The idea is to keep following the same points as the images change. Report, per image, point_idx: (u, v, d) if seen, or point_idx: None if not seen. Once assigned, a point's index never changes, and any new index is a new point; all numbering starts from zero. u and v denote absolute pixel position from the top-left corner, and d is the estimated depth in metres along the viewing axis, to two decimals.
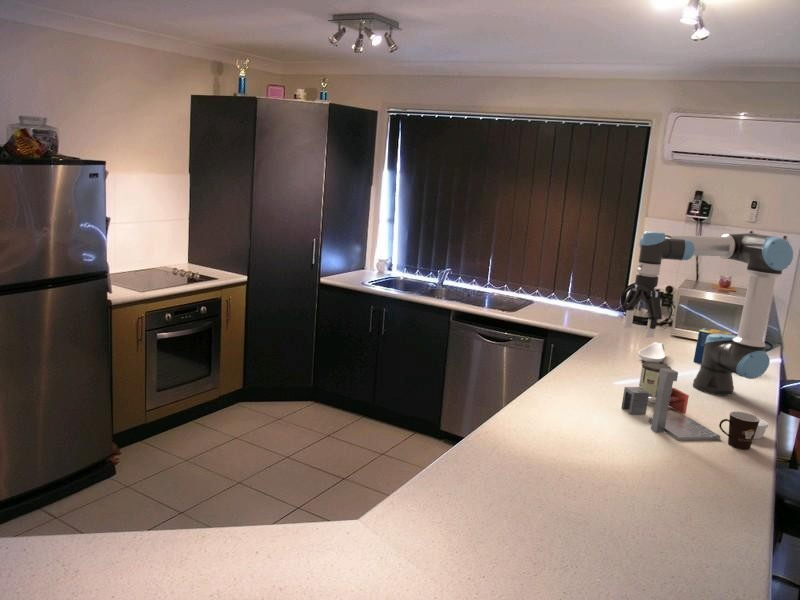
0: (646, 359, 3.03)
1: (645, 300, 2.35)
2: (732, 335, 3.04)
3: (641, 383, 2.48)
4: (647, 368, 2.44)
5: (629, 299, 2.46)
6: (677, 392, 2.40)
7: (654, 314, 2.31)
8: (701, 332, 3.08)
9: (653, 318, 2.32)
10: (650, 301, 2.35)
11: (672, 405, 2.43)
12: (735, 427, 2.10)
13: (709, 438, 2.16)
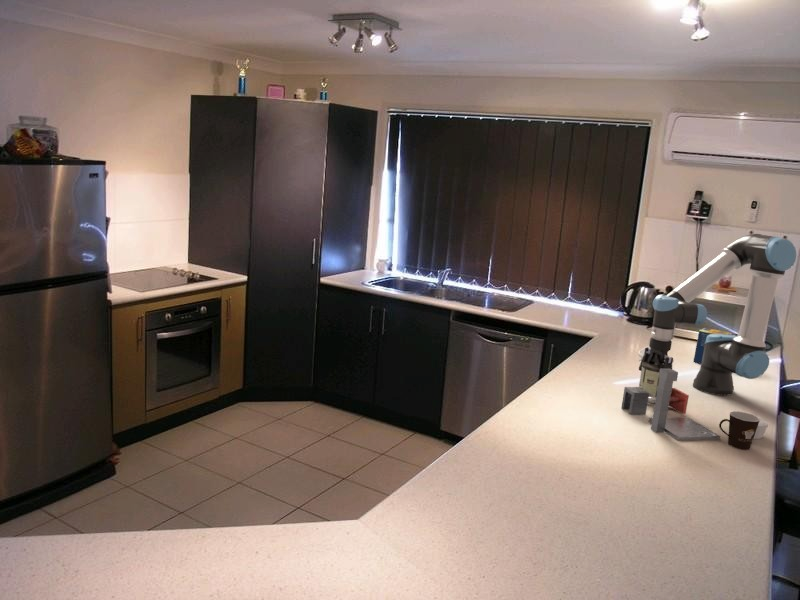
0: None
1: (658, 364, 2.43)
2: (732, 335, 3.04)
3: (641, 383, 2.48)
4: (647, 368, 2.44)
5: None
6: (677, 392, 2.40)
7: None
8: (701, 332, 3.08)
9: None
10: (663, 365, 2.43)
11: (672, 405, 2.43)
12: (735, 427, 2.10)
13: (709, 438, 2.16)
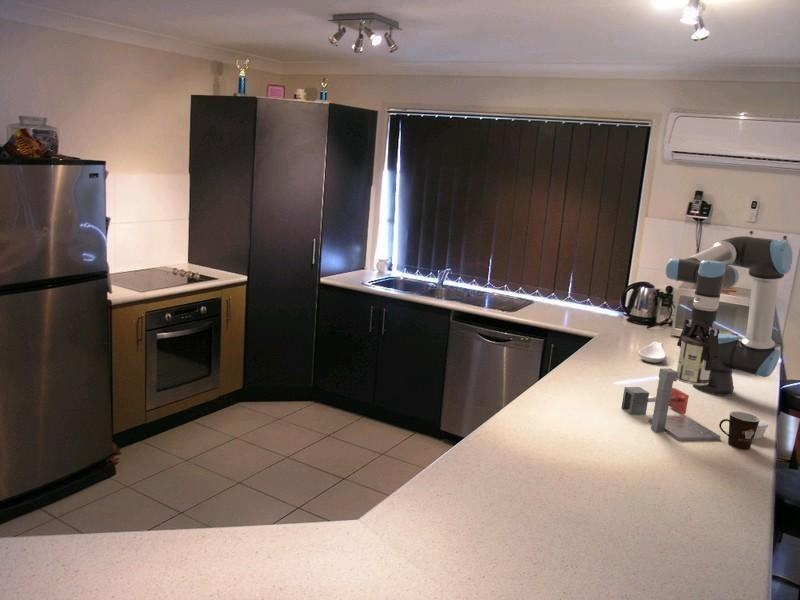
0: (647, 359, 3.03)
1: (701, 337, 2.13)
2: None
3: (681, 359, 2.17)
4: (688, 342, 2.14)
5: None
6: (677, 392, 2.40)
7: (710, 355, 2.09)
8: None
9: (709, 359, 2.11)
10: (707, 339, 2.13)
11: (672, 405, 2.43)
12: (735, 427, 2.10)
13: (709, 438, 2.16)
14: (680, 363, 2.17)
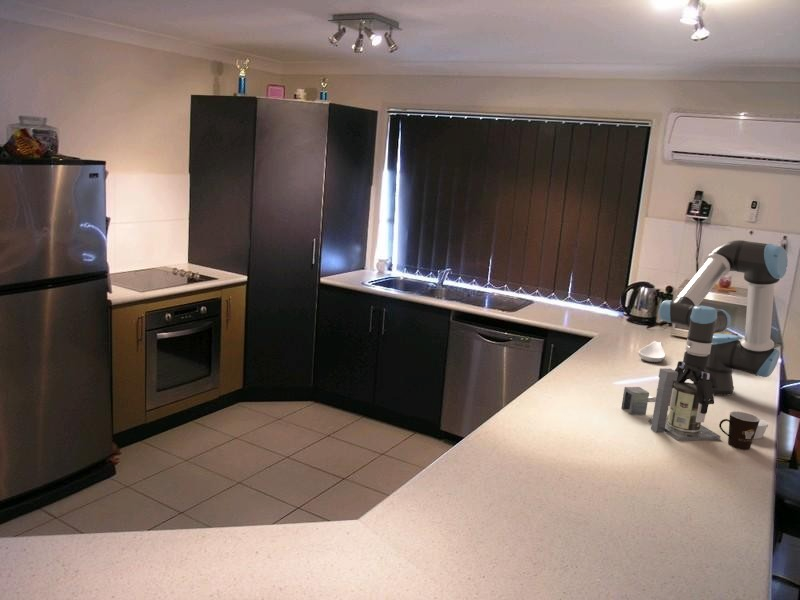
0: (647, 358, 3.04)
1: (695, 381, 2.15)
2: None
3: (673, 406, 2.20)
4: (680, 390, 2.17)
5: None
6: None
7: (706, 398, 2.11)
8: None
9: (704, 402, 2.12)
10: (700, 383, 2.15)
11: None
12: (735, 427, 2.10)
13: (709, 438, 2.16)
14: (672, 410, 2.21)
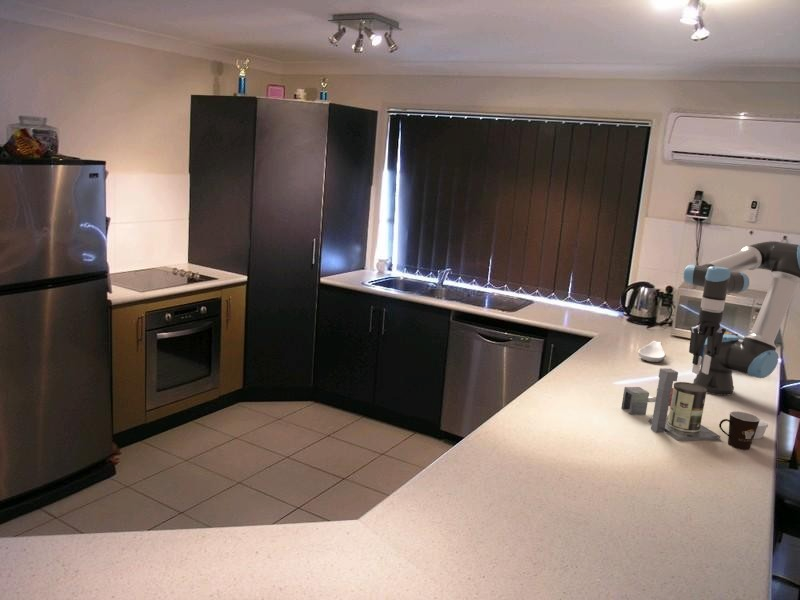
0: (647, 358, 3.04)
1: None
2: None
3: (673, 406, 2.20)
4: (680, 390, 2.17)
5: (714, 343, 2.40)
6: None
7: None
8: None
9: (693, 354, 2.39)
10: (700, 337, 2.37)
11: None
12: (735, 427, 2.10)
13: (709, 438, 2.16)
14: (672, 410, 2.21)
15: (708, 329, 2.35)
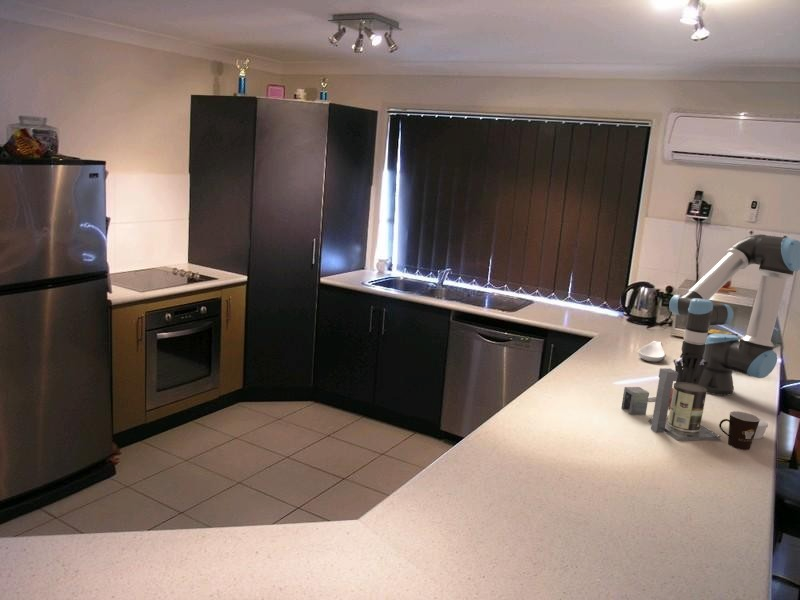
0: (646, 358, 3.05)
1: None
2: None
3: (673, 406, 2.20)
4: (680, 390, 2.17)
5: (694, 374, 2.40)
6: None
7: None
8: None
9: None
10: (684, 369, 2.38)
11: (670, 405, 2.43)
12: (735, 427, 2.10)
13: (709, 438, 2.16)
14: (672, 410, 2.21)
15: (691, 361, 2.36)
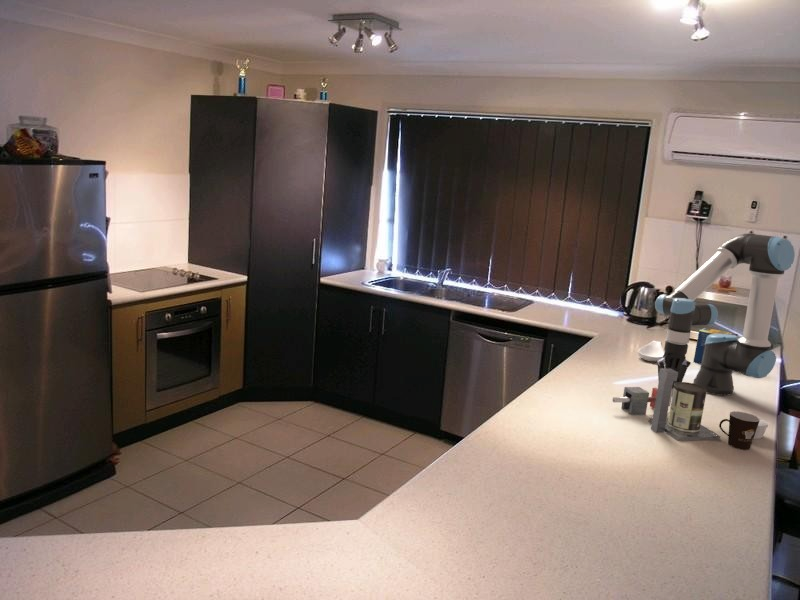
0: (646, 357, 3.05)
1: None
2: None
3: (673, 406, 2.20)
4: (680, 390, 2.17)
5: None
6: None
7: None
8: (701, 332, 3.08)
9: None
10: None
11: (653, 405, 2.41)
12: (735, 427, 2.10)
13: (709, 438, 2.16)
14: (672, 410, 2.21)
15: (673, 361, 2.34)
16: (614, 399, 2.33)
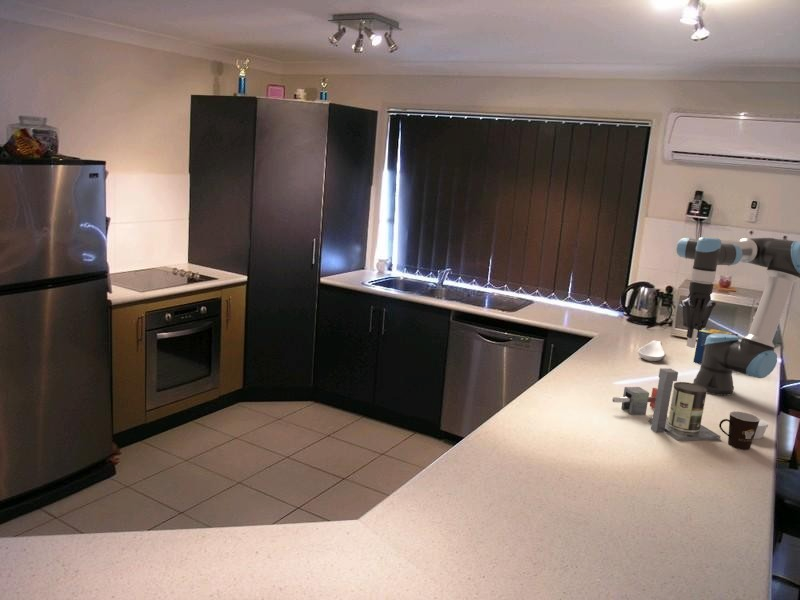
0: (646, 357, 3.06)
1: None
2: None
3: (673, 406, 2.20)
4: (680, 390, 2.17)
5: (702, 316, 2.36)
6: None
7: None
8: (701, 332, 3.08)
9: (688, 327, 2.36)
10: (692, 309, 2.34)
11: (653, 405, 2.41)
12: (735, 427, 2.10)
13: (709, 438, 2.16)
14: (672, 410, 2.21)
15: (699, 301, 2.31)
16: (614, 399, 2.33)
